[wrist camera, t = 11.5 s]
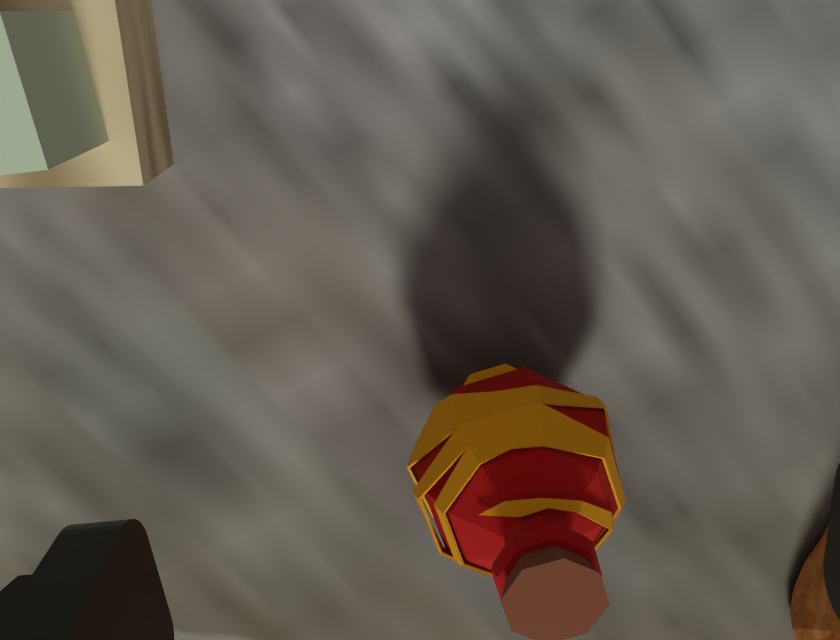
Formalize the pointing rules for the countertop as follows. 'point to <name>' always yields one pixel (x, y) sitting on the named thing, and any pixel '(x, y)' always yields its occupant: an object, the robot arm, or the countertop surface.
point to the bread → (813, 600)
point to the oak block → (112, 96)
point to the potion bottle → (523, 494)
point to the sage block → (45, 92)
